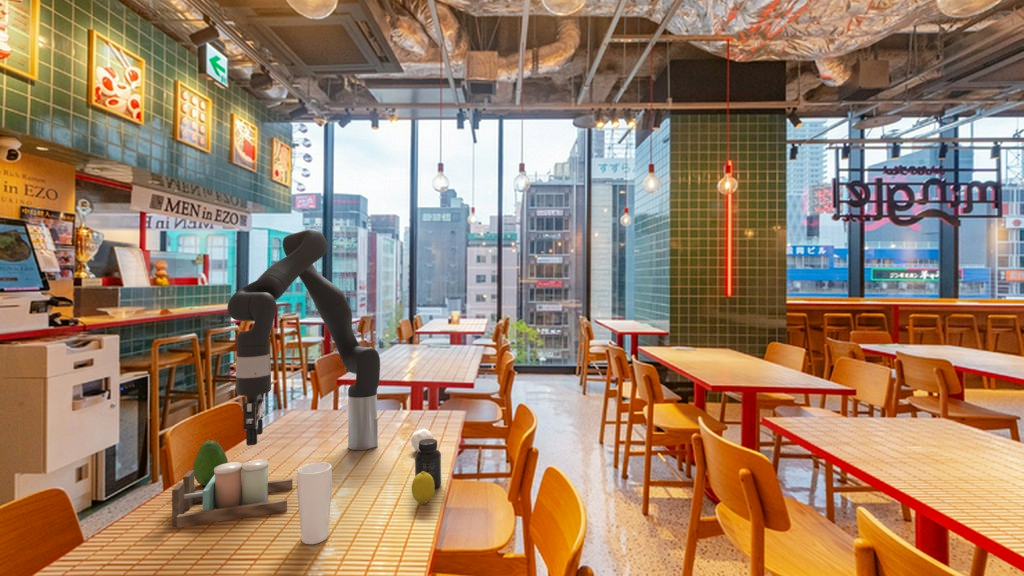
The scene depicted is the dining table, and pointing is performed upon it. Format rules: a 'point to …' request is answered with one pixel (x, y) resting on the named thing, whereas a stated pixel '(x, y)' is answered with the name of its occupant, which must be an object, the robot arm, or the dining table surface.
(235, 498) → the jar
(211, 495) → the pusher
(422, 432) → the ornament
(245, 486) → the sage jar
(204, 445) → the fruit
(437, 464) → the supplement bottle
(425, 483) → the lemon
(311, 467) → the drinking glass
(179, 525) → the lane
